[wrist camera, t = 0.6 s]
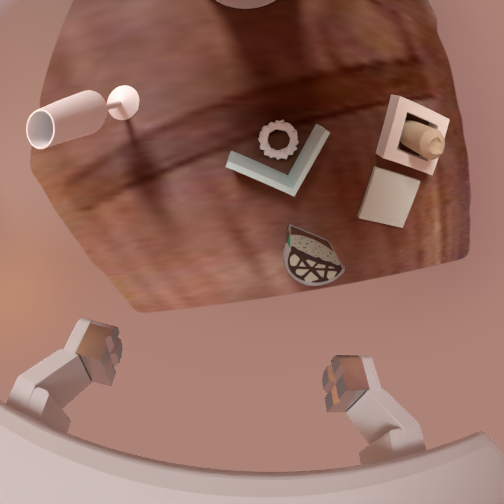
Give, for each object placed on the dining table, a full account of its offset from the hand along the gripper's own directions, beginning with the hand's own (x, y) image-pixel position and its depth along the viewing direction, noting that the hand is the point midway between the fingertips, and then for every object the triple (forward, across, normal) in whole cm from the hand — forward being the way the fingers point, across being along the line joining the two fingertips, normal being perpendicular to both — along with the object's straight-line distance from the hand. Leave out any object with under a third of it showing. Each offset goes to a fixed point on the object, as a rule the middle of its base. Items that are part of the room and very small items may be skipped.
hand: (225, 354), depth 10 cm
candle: (+44, -30, -8) cm, 54 cm away
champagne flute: (+44, +23, -3) cm, 50 cm away
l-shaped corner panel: (+45, -5, +1) cm, 45 cm away
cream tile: (+44, -30, +6) cm, 54 cm away
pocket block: (+44, -30, -8) cm, 54 cm away
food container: (+44, -15, +21) cm, 51 cm away
